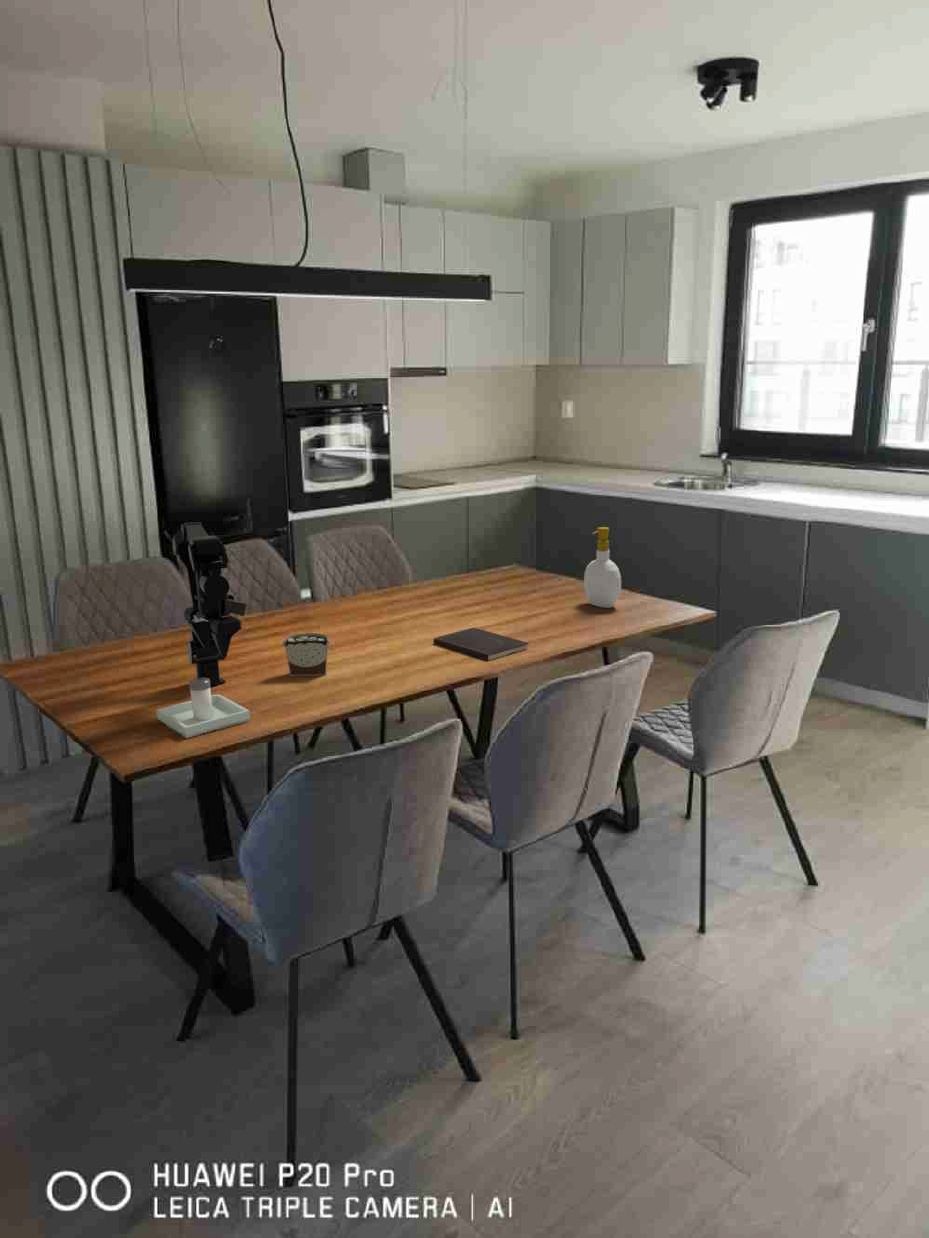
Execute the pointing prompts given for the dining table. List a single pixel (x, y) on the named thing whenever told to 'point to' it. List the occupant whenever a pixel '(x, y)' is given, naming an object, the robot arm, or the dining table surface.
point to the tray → (185, 724)
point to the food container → (306, 654)
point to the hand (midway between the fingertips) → (215, 653)
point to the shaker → (201, 699)
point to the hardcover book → (480, 643)
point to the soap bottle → (602, 575)
